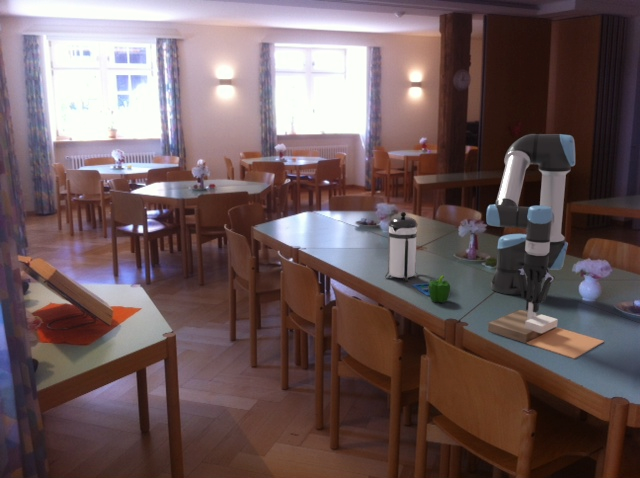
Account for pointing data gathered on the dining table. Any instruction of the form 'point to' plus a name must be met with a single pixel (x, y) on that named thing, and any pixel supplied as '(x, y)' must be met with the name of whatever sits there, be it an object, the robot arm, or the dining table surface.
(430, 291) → the bell pepper
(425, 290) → the handheld gaming device
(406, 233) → the coffee press
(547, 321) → the cream block
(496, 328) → the board
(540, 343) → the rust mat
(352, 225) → the dining table surface
